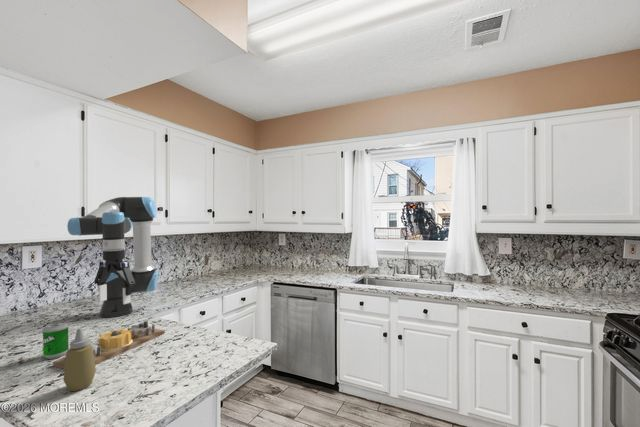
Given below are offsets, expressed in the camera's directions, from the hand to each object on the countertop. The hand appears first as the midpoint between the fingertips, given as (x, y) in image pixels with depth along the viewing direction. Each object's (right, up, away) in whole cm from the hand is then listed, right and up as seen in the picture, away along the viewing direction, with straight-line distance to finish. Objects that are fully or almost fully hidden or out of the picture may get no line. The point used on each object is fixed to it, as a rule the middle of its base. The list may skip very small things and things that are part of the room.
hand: (114, 302), depth 125 cm
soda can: (-19, -19, -6) cm, 27 cm away
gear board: (0, -19, 0) cm, 19 cm away
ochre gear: (0, -17, 0) cm, 17 cm away
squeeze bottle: (+8, -19, -29) cm, 35 cm away
